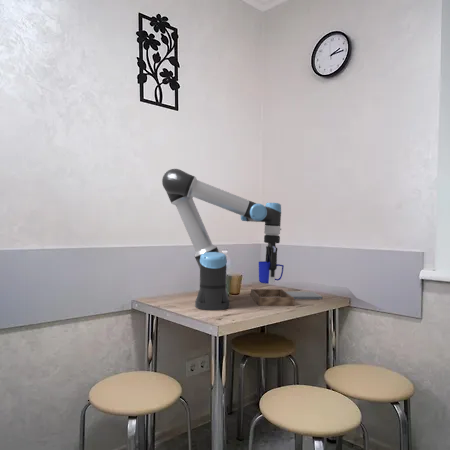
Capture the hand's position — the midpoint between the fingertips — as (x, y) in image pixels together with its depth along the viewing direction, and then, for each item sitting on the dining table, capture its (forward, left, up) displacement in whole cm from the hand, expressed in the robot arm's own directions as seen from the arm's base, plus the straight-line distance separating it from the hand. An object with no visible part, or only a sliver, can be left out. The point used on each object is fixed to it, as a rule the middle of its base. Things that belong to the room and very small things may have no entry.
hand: (269, 282), depth 174 cm
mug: (0, -1, -1) cm, 1 cm away
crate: (+1, 0, -9) cm, 9 cm away
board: (+19, +11, -9) cm, 23 cm away
